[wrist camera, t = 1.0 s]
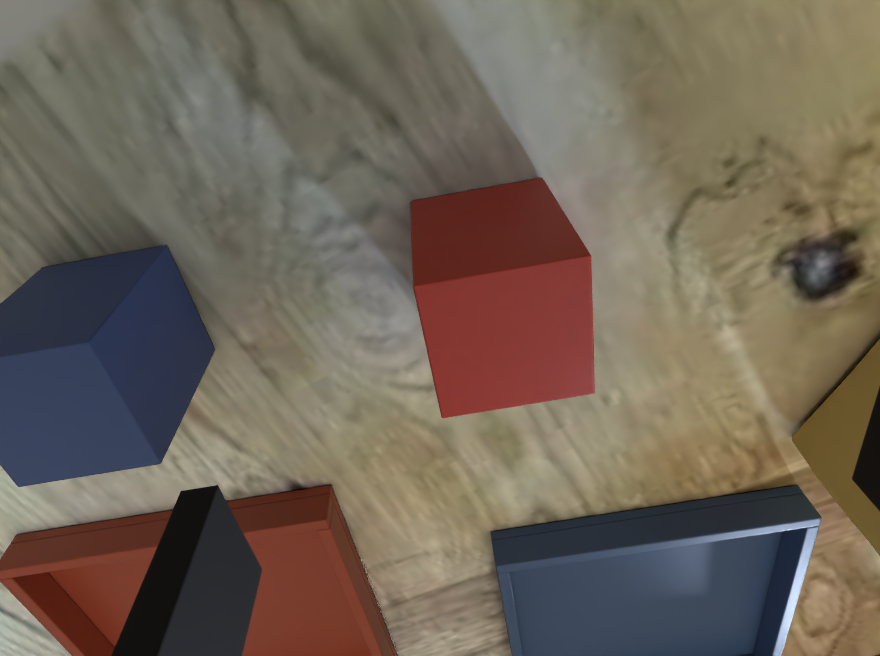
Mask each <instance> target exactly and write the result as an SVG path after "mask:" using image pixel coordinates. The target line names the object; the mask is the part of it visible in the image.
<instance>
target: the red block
mask: <svg viewBox="0 0 880 656" xmlns="http://www.w3.org/2000/svg"><path fill="white" fill-rule="evenodd" d="M410 204H411V237H412V270H413V289H414V293H415V298H416V303H417V307H418V312H419V316H420V321H421V325H422V330H423V335H424V339H425V344H426V348H427V353H428V358H429V362H430V367H431V371H432V376H433V380H434V385H435V390H436V394H437V399H438V403H439V408H440V412H441V417H442V418H447V417H453V416H459V415H465V414H471V413H478V412H484V411H490V410H496V409H502V408H508V407H515V406H521V405H527V404H533V403H539V402H545V401H552V400H558V399H564V398H570V397H576V396H582V395H589V394H594V393H595V384H594V346H593V308H592V271H591V255H590V253H589V252H588V250H587V248H586V247H585V245H584V244H583V242H582V240H581V239H580V237H579V236H578V234H577V232H576V231H575V229H574V228H573V226H572V224H571V223H570V221H569V220H568V218H567V216H566V215H565V213H564V212H563V210H562V209H561V207H560V205H559V204H558V202H557V201H556V199H555V197H554V196H553V194H552V193H551V191H550V189H549V188H548V186H547V185H546V183H545V181H544V180H543V178H538V179H533V180H527V181H522V182H516V183H510V184H505V185H499V186H494V187H488V188H483V189H477V190H471V191H466V192H460V193H455V194H449V195H443V196H438V197H432V198H427V199H421V200H416V201H411V203H410Z"/></svg>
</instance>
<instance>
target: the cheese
mask: <svg viewBox="0 0 880 656" xmlns="http://www.w3.org/2000/svg"><path fill="white" fill-rule="evenodd" d="M879 387H880V339H879V340H878V341H877V342H876V344H875V345H874V346H873V347H872V348H871V350H870V351H869V352H868V353H867V354H866V355H865V357H864V358H863V359H862V360H861V361H860V363H859V364H858V365H857V366H856V367H855V368H854V370H853V371H852V372H851V373H850V374H849V375H848V376H847V377H846V378H845V380H844V381H843V382H842V383H841V384H840V385H839V386H838V387H837V388H836V389H835V391H834V392H833V393H832V394H831V395H830V396H829V397H828V398H827V399H826V400H825V401H824V402H823V404H822V405H821V406H820V407H819V408H818V409H817V410H816V411H815V412H814V413H813V414H812V415H811V417H810V418H809V419H808V420H807V421H806V422H805V423H804V424H803V425H802V426H801V427H800V429H799V430H798V431H797V432H796V433H795V434H794V435H793V437H792V441H793V443H794V444H795V445H796V447H797V448H798V450H799V451H800V453H801V454H802V456H803V457H804V458H805V460H806V461H807V463H808V464H809V466H810V467H811V469H812V470H813V472H814V473H815V475H816V476H817V478H818V479H819V480H820V482H821V483H822V484H823V486H824V487H825V488H826V490H827V491H828V492H829V493H830V495H831V496H832V497H833V498H834V500H835V501H836V502H837V503H838V505H839V506H840V507H841V508H842V510H843V511H844V512H845V513H846V514H847V516H848V517H849V518H850V519H851V521H852V522H853V523H854V524H855V526H856V527H857V528H858V529H859V530H860V531H861V533H862V534H863V535H864V536H865V537H866V539H867V540H868V541H869V542H870V544H871V545H872V546H873V547H874V549H875V550H876V551H877V553H878V554H879V556H880V511H879V510H878V509H877V508H876V507H875V505H874V504H873V503H872V502H871V501H870V500H869V499H868V497H867V496H866V495H865V494H864V493H863V492H862V490H861V489H860V488H859V487H858V486H857V485H856V484H855V482H854V481H853V480H852V476H853V473H854V470H855V466H856V463H857V460H858V456H859V453H860V450H861V446H862V443H863V440H864V437H865V433H866V430H867V427H868V423H869V420H870V417H871V413H872V410H873V407H874V404H875V400H876V397H877V394H878V390H879Z"/></svg>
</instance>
